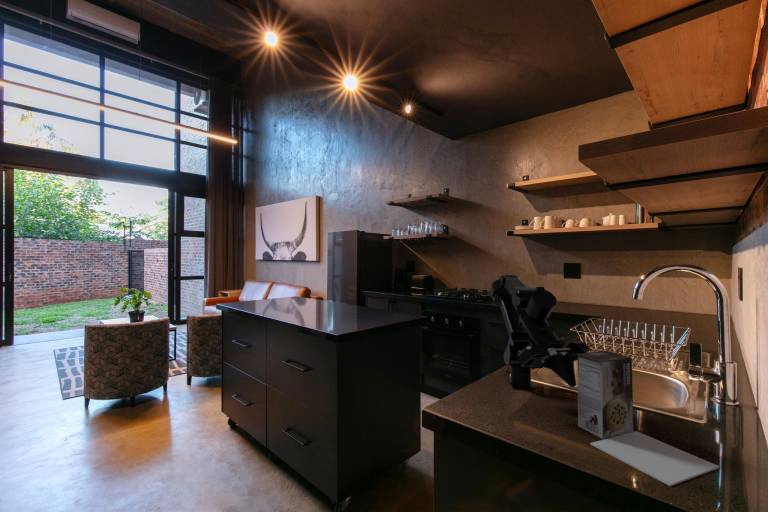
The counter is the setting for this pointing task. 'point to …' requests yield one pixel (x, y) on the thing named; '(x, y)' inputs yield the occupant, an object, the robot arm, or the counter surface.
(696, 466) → the grey mat
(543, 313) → the robot arm
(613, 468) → the counter surface
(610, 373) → the coffee box
